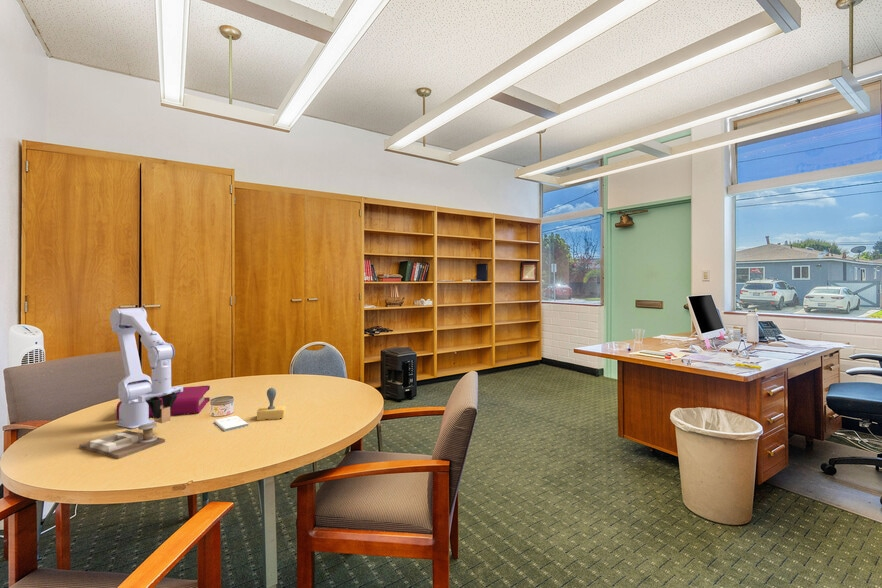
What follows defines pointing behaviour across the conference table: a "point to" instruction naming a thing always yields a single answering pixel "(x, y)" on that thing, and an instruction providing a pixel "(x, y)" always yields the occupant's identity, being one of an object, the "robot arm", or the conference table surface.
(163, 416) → the orange and brown block
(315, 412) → the conference table surface
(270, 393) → the rubber stamp
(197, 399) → the book
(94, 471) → the conference table surface
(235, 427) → the external hard drive
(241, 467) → the conference table surface
